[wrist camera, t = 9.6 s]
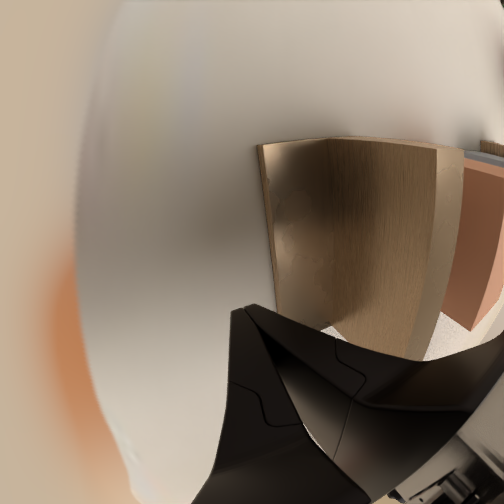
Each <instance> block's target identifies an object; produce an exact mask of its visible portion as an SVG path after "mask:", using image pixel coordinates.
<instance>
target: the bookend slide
mask: <svg viewBox="0 0 504 504" xmlns="http://www.w3.org/2000/svg"><path fill="white" fill-rule="evenodd" d="M257 149H258V156H259V163H260V171H261V178H262V186H263V194H264V202H265V209H266V217H267V226H268V234H269V242H270V250H271V259H272V268H273V276H274V285H275V294H276V304H277V313H278V314H280V315H282V316H285V317H287V318H289V319H292V320H294V321H297V322H299V323H301V324H304V325H306V326H308V327H311V328H313V329H316V330H318V331H320V330H323V329H325V328H327V327H329V326H333V327H334V328H335V329H336V330H337V331H338V332H339V333H340V334H341V335H342V336H343V337H344V338H345V339H346V340H347V341H348V342H349V343H351V344H354V345H357V346H360V347H363V348H366V349H370V350H373V351H377V352H381V353H385V354H389V355H393V356H397V357H401V358H405V359H409V360H415V361H423V358H424V356H425V353H426V351H427V348H428V346H429V343H430V340H431V337H432V335H433V332H434V329H435V326H436V323H437V320H438V317H439V314H440V310H441V307H442V304H443V300H444V296H445V293H446V289H447V285H448V281H449V277H450V273H451V268H452V263H453V259H454V254H455V248H456V242H457V236H458V230H459V223H460V215H461V205H462V194H463V179H464V149H459V148H454V147H449V146H443V145H437V144H430V143H423V142H416V141H408V140H399V139H388V138H377V137H362V136H345V137H328V138H315V139H304V140H295V141H286V142H277V143H270V144H262V145H257Z"/></svg>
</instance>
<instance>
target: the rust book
mask: <svg viewBox="0 0 504 504" xmlns="http://www.w3.org/2000/svg"><path fill="white" fill-rule="evenodd" d="M503 285H504V168H502V167H498V166H495V165H491V164H487V163H483V162H479V161H475V160H471V159H467V158H464V179H463V194H462V205H461V215H460V223H459V230H458V236H457V242H456V248H455V254H454V259H453V263H452V268H451V273H450V277H449V281H448V285H447V289H446V293H445V296H444V300H443V304H442V307H441V310H440V311H441V312H443V313H444V314H446V315H447V316H449V317H450V318H451V319H453V320H454V321H456V322H457V323H459V324H460V325H461V326H463V327H464V328H466V329H467V330H468V331H470V332H471V331H472V330H473V328H474V327H475V326H476V325H477V324H478V323H479V322H480V321H481V320H482V319H483V317H484V316H485V315H486V314H487V313H488V312H489V310H490V309H491V308H492V307H493V306H494V304H495V303H496V302H497V301H498V299H499V297H500V294H501V291H502V288H503Z"/></svg>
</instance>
